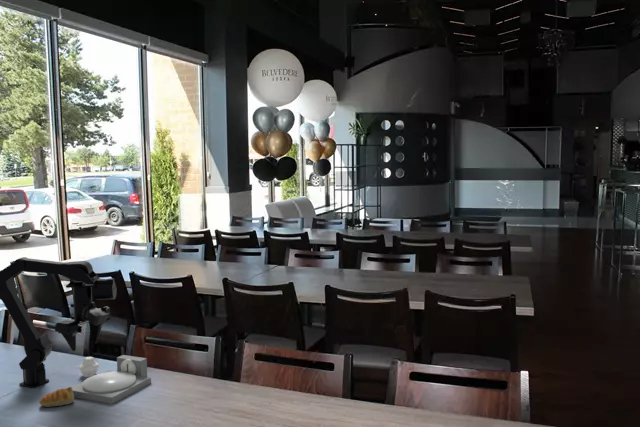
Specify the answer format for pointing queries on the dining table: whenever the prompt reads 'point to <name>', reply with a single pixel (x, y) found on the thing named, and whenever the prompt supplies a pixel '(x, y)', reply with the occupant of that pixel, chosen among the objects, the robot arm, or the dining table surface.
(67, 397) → the pastry
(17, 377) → the dining table surface
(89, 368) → the garlic bulb
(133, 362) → the scale
